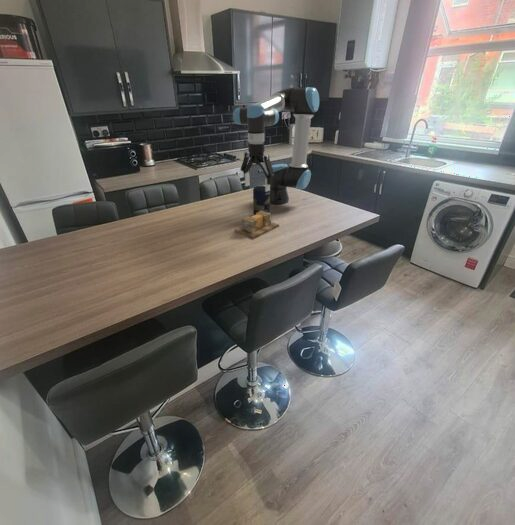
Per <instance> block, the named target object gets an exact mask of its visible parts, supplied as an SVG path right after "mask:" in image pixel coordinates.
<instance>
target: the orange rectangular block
mask: <svg viewBox="0 0 515 525" xmlns="http://www.w3.org/2000/svg"><path fill="white" fill-rule="evenodd" d="M250 217H251V218H254V219H257V220H258V228H260V227H263V216H262V215H259V214H256V215H254V214H253V215H252V216H250Z"/></svg>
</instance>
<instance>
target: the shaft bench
mask: <svg viewBox="0 0 515 525" xmlns="http://www.w3.org/2000/svg"><path fill="white" fill-rule="evenodd" d="M256 214H259V215H262V216H263V227H260V228H258V220H257V219H254V218H251V216H246V217H242V222H241V223H242V224H241V226H238V227H236V228H234V232H235V233H238V234H241V235H243V236H245V237H248V238H251V239H253V240H255V239H257V238H258V237H261V236H262V235H265V234H268V233H269V232H271V231H273V230H275V229H277V228H279V227H280V224H278V223H275V222H273V221H272V216H271V215H272V214H271V212H270V213H267V212H263V211H259V212H257V213H256Z"/></svg>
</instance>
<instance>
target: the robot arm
mask: <svg viewBox="0 0 515 525" xmlns="http://www.w3.org/2000/svg"><path fill="white" fill-rule="evenodd" d="M319 107H320V94H319V92H318V89H317V88H316V87H309V86H307V87H287V88H285V89H281V90H280V91H276V92H274V93H272V94H271V95H270V97H267V98H264V99H263V100H260V101H258V102H256V103H255V102H254V103H252V104H248V105H247V106H245V107H237V108H235V109H234V110H233V113H232V116H233V122H234V123H235V125H241V126H247V142H248V151H246V152H244V154H243V160H242V164H241V166H240V169H239V170H240V172H243V179H244V187H248V186H250V185H251V183H250V182H251V181H250V180H251V178H250V176H251V175H250V172H249V171H250V169H251V168H252V166H253V164H256V165H258V166H259V167H260V168H261V171H262V172H263V174H264V175H265V177H264V186H265V192H267V191H270V205H284V204H288V203H289V201H290V196H289V194H288V189H287V188H293V189H296V190H304V189H306V188H307V186H308V185H309V183H310V180H311V176H312V172H311V170H310V169H309V165H308V164H307V158H308V147H309V140H310V130H311V122H312V120H311V119H312V118H313V117H314V116H315V113H316V112H318V110H319ZM281 112H293V113H292V115H293V117H294V118H295V119H294V120H295V122H294V135H293V146H292V155H291V157H292V158H291V163H289V164H287V163H276V164H272V163H271V160H270V154H266V155H265V154H264V152H265V151H266V150H265V148H266V146H265V143H264V142H265V141H266V140H265V128H266V127H272V126H274V125H276V124H277V123H278V122H279V119H280V114H279V113H281Z"/></svg>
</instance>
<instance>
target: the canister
mask: <svg viewBox="0 0 515 525" xmlns="http://www.w3.org/2000/svg"><path fill="white" fill-rule="evenodd" d="M252 194H253V195H252V200H253V208H252V209H253V216H254V215H256V213H257V212H259V211H263V212H267V213H270V214H271V212H270V210H271V203H270V191H267V192H265V185H258V186H255V187H253V189H252Z"/></svg>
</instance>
